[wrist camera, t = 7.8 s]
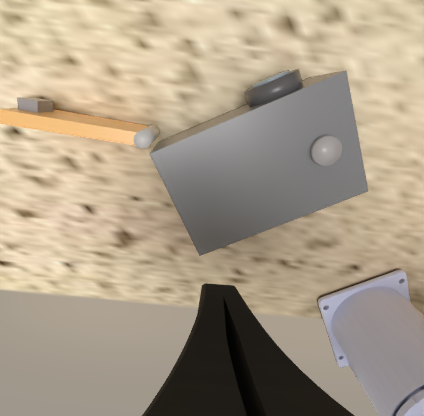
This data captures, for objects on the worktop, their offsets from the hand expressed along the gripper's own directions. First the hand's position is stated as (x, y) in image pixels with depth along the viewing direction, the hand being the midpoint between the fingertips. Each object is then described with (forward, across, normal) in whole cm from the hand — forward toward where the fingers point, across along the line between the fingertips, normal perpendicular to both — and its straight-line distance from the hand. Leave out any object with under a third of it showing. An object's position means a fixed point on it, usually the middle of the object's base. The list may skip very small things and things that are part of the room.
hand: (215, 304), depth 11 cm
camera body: (+10, -3, -4) cm, 12 cm away
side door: (+10, +8, -6) cm, 14 cm away
